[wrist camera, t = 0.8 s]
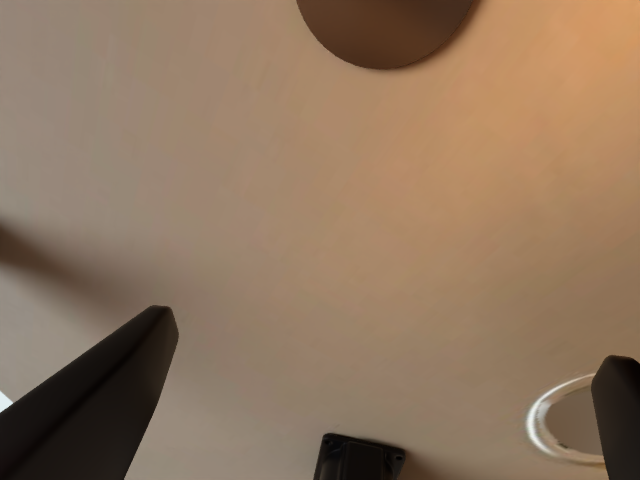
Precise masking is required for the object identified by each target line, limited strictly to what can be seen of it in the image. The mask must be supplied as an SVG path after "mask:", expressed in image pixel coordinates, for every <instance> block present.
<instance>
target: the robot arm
mask: <svg viewBox="0 0 640 480" xmlns="http://www.w3.org/2000/svg"><path fill="white" fill-rule="evenodd" d="M178 337H179V333H178V328H177V325H176V321H175V318H174V315H173V311H172V309H171V308H170V307H167V306H158V305H153V306H150V307H148V308H147V309H145V310H144V311H143V312H141V313H140V314H138V315H137V316H136V317H134V318H133V319H131V320H130V321H129V322H127V323H126V324H124V325H123V326H121V327H120V328H119V329H117V330H116V331H114V332H113V333H112V334H110V335H109V336H107V337H106V338H105V339H103V340H102V341H100V342H99V343H98V344H96V345H95V346H93V347H92V348H91V349H89V350H88V351H86V352H85V353H84V354H82V355H81V356H79V357H78V358H77V359H75V360H74V361H72V362H71V363H70V364H68V365H67V366H65V367H64V368H62V369H61V370H60V371H58V372H57V373H55V374H54V375H53V376H51V377H50V378H48V379H47V380H46V381H44V382H43V383H41V384H40V385H39V386H37V387H36V388H34V389H33V390H32V391H30V392H29V393H27V394H26V395H25V396H23V397H22V398H20V399H19V400H18V401H16V402H15V403H13V404H12V405H11V406H9V407H8V408H7V409H5V410H4V411H2V412H1V413H0V480H124V478H125V476H126V473H127V471H128V469H129V467H130V465H131V462H132V460H133V458H134V456H135V453H136V451H137V449H138V447H139V445H140V442H141V440H142V438H143V436H144V433H145V431H146V429H147V427H148V425H149V422H150V420H151V418H152V416H153V413H154V411H155V408H156V406H157V403H158V401H159V398H160V395H161V392H162V389H163V386H164V383H165V380H166V376H167V373H168V370H169V367H170V364H171V361H172V358H173V355H174V352H175V349H176V346H177V342H178ZM591 392H592V397H593V403H594V408H595V413H596V419H597V424H598V430H599V435H600V440H601V445H602V451H603V456H604V461H605V465H606V469H607V473H608V476H609V480H640V364H639V363H638V362H637V361H636V360H634V359H633V358H630V357H625V356H616V355H609V356H608V357H606V358H605V360H604V361H603V363H602V365H601V366H600V368H599V370H598V371H597V373H596V375H595V376H594V378H593V380H592V384H591ZM404 462H405V452H404V451H403V450H400V449H396V448H391V447H387V446H382V445H377V444H373V443H368V442H364V441H359V440H354V439H350V438H345V437H341V436H336V435H332V434H325V435H324V436H323V438H322V443H321V447H320V452H319V456H318V460H317V465H316V469H315V474H314V479H313V480H397V479H398V476H399V474H400V471H401V469H402V466H403V464H404Z"/></svg>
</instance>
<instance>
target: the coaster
mask: <svg viewBox="0 0 640 480" xmlns="http://www.w3.org/2000/svg"><path fill="white" fill-rule="evenodd" d="M472 1H473V0H297V4H298V7H299V10H300V12H301V14H302V16H303V19H304V21H305V22H306V24H307V26H308V27H309V29H310V31H311V32H312V33H313V35H314V36H315V37H316V39H317V40H318V41H319V42H320V43H321V44H322V45H323V46H324V47H325V48H326V49H327V50H329V51H330V52H331V53H333V54H334V55H335V56H337V57H339V58H340V59H342V60H344V61H346V62H348V63H351V64H353V65H356V66H360V67H364V68H371V69H390V68H396V67H401V66H404V65H407V64H410V63H413V62H415V61H417V60H419V59H422V58H423V57H425V56H427V55H428V54H430V53H431V52H433V51H434V50H435V49H437V48H438V47H439V46H440V45H442V44H443V43H444V42H445V41H446V40H447V39H448V38H449V37H450V36H451V35H452V33H453V32H454V31H455V30H456V28H457V27H458V26H459V24H460V23H461V21H462V20H463V18H464V17H465V15H466V13H467V12H468V10H469V7H470V5H471V3H472Z"/></svg>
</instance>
